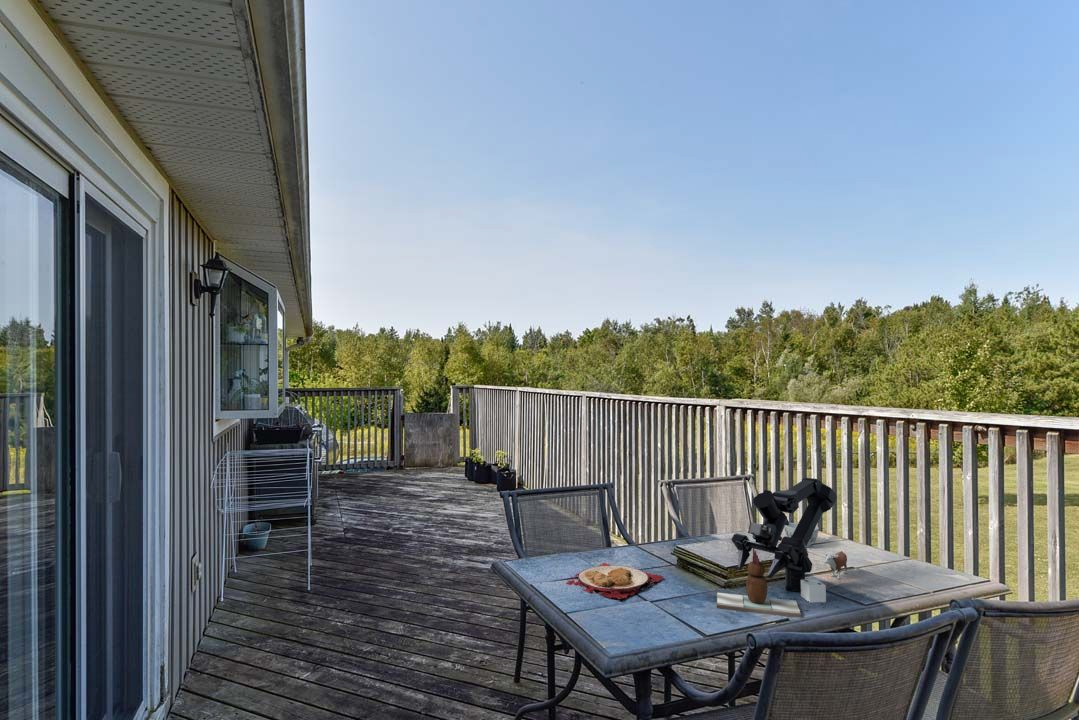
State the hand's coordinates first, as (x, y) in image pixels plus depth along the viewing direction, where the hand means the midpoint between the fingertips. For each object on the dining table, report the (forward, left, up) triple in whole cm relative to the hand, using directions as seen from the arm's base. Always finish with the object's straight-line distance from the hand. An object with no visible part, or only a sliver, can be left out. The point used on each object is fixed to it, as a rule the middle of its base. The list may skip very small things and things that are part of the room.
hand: (753, 572), depth 165 cm
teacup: (-74, +21, -10) cm, 78 cm away
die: (-12, +17, -10) cm, 23 cm away
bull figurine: (-37, +28, -10) cm, 48 cm away
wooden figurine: (-1, +1, -9) cm, 9 cm away
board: (-1, +1, -10) cm, 10 cm away
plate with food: (-9, -44, -11) cm, 46 cm away
